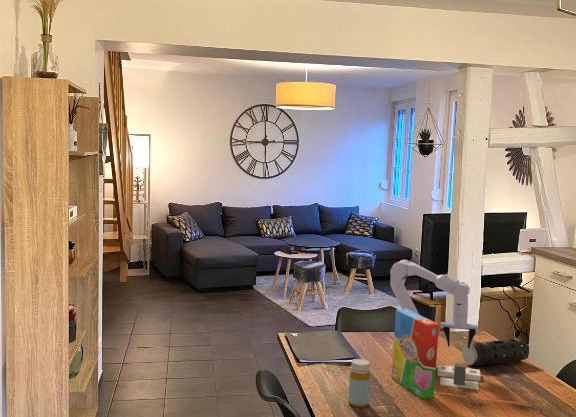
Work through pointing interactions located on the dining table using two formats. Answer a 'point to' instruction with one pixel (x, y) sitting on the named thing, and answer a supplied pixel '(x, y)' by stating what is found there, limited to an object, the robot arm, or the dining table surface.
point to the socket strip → (449, 372)
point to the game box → (415, 352)
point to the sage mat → (467, 385)
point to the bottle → (359, 383)
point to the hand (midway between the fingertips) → (458, 346)
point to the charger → (459, 373)
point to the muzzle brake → (495, 352)
